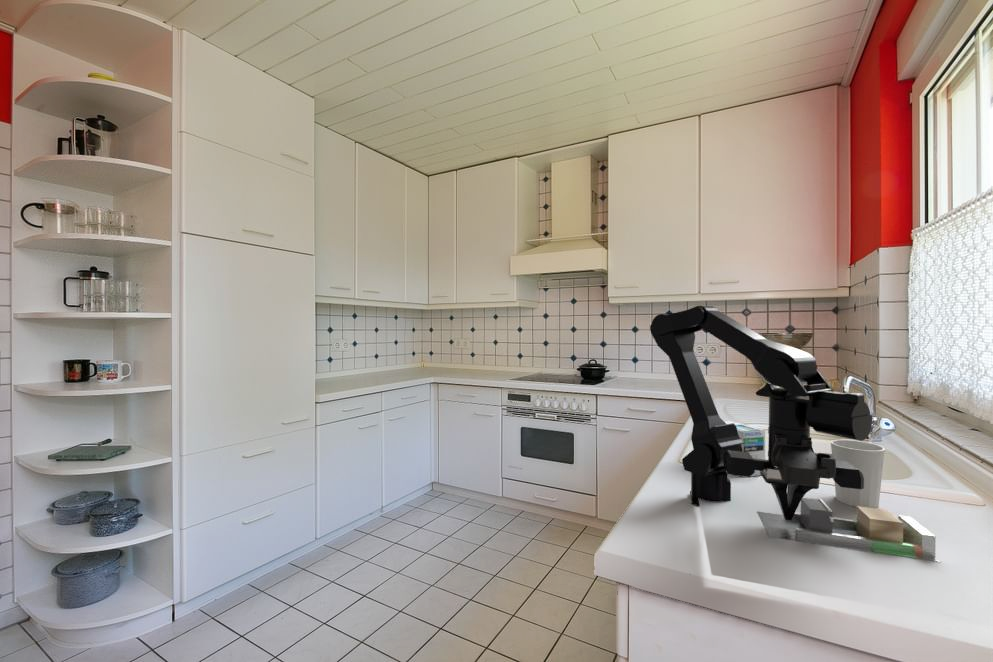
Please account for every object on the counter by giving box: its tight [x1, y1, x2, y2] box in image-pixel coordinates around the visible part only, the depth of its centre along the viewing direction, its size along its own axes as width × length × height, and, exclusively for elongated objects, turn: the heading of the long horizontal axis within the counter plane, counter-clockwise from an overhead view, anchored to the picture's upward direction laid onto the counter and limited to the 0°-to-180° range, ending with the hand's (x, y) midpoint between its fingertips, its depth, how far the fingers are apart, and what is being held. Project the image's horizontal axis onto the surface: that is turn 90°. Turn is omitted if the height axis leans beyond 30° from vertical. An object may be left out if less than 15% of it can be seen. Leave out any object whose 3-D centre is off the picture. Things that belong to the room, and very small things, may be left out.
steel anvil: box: [897, 514, 937, 557], centre depth 67 cm, size 2×7×3 cm, turn 159°
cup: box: [830, 439, 886, 509], centre depth 83 cm, size 8×8×12 cm
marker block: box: [856, 506, 903, 543], centre depth 68 cm, size 4×5×4 cm
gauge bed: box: [757, 511, 942, 563], centre depth 70 cm, size 21×10×2 cm, turn 69°
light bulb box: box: [723, 420, 766, 478], centre depth 105 cm, size 11×7×11 cm, turn 17°
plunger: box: [800, 497, 834, 533], centre depth 71 cm, size 3×6×4 cm, turn 158°
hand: (787, 519), depth 73 cm, fingers closed
